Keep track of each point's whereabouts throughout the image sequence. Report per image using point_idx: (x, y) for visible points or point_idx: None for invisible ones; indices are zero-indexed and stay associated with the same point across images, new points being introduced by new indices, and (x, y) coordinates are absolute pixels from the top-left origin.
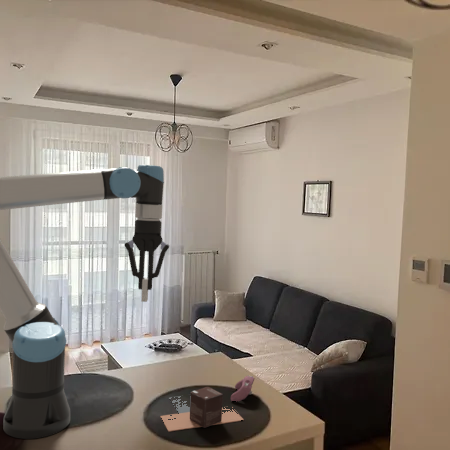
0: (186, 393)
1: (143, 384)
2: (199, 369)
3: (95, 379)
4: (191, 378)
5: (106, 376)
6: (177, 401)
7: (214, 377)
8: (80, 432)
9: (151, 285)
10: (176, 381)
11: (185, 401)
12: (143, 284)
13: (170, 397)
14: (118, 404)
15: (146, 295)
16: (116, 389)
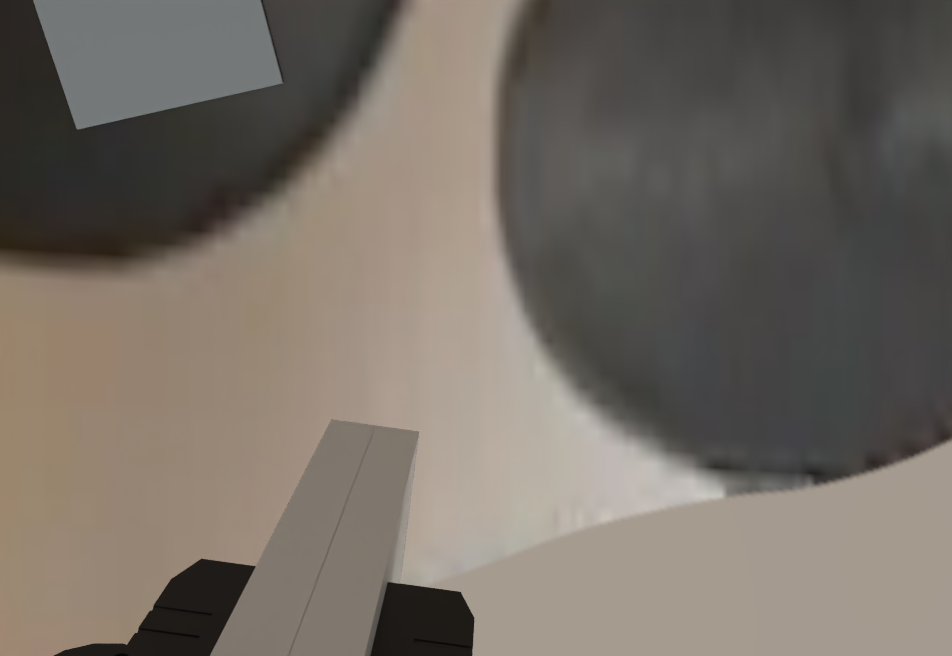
0: (175, 149)
1: (436, 299)
2: (97, 500)
3: (722, 390)
4: (146, 370)
5: (658, 430)
6: (228, 20)
7: (4, 376)
8: None
9: (149, 622)
10: (237, 331)
11: (179, 18)
12: (340, 615)
13: (271, 83)
14: (585, 16)
15: (313, 470)
16: (598, 236)
